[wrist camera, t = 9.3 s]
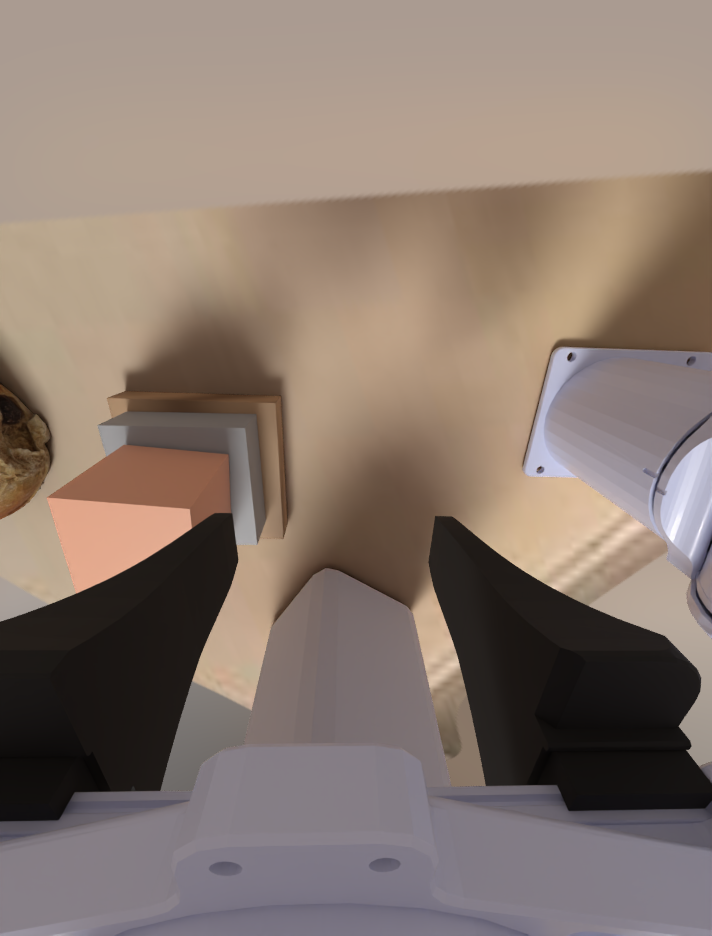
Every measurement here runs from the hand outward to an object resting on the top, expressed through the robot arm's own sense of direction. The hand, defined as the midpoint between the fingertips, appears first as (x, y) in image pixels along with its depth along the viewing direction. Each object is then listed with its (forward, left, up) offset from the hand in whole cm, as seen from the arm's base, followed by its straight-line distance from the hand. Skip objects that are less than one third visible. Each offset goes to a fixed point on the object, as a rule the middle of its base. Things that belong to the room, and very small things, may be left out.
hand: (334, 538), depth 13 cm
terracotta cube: (+8, +2, -6) cm, 10 cm away
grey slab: (+8, +1, -9) cm, 12 cm away
